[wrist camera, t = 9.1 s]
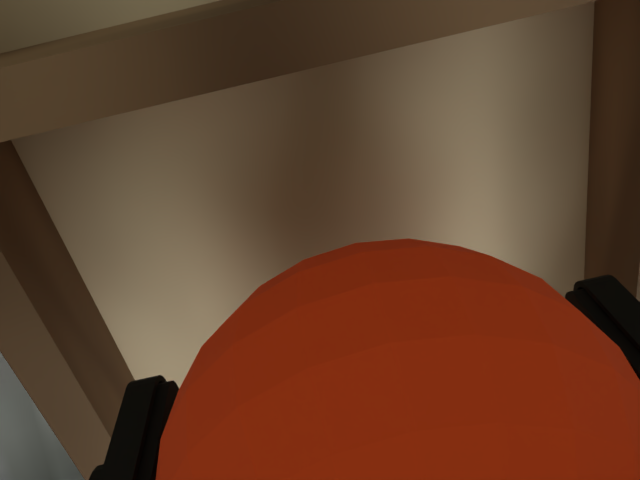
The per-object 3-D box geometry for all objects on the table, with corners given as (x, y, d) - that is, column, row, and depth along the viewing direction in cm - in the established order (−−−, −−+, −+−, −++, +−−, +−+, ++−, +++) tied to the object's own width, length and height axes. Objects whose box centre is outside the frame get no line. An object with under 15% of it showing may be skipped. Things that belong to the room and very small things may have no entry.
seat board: (713, -376, 9) (946, -530, 6) (626, 448, 19) (696, 548, 16) (-244, -136, 9) (-489, -165, 6) (167, 548, 19) (150, 666, 16)
